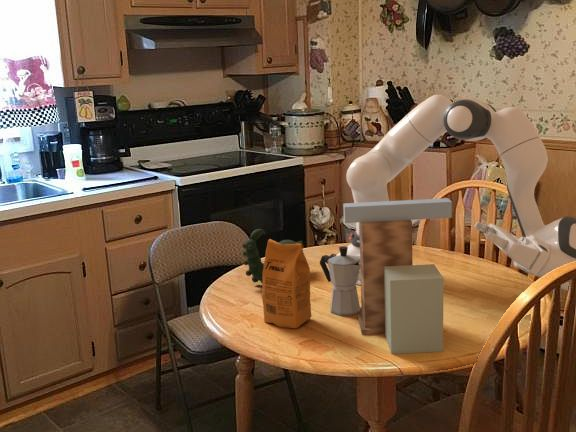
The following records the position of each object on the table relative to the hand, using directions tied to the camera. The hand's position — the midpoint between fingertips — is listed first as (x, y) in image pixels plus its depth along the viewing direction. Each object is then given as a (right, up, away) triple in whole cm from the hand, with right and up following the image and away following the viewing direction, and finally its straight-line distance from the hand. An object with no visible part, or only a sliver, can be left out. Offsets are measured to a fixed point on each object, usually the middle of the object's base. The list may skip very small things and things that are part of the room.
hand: (481, 229), depth 162 cm
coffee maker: (-33, -22, +18) cm, 44 cm away
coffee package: (-48, -25, +12) cm, 55 cm away
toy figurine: (-51, -17, +45) cm, 70 cm away
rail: (-21, +3, -1) cm, 21 cm away
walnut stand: (-23, -24, +6) cm, 34 cm away
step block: (-18, -27, -5) cm, 33 cm away
